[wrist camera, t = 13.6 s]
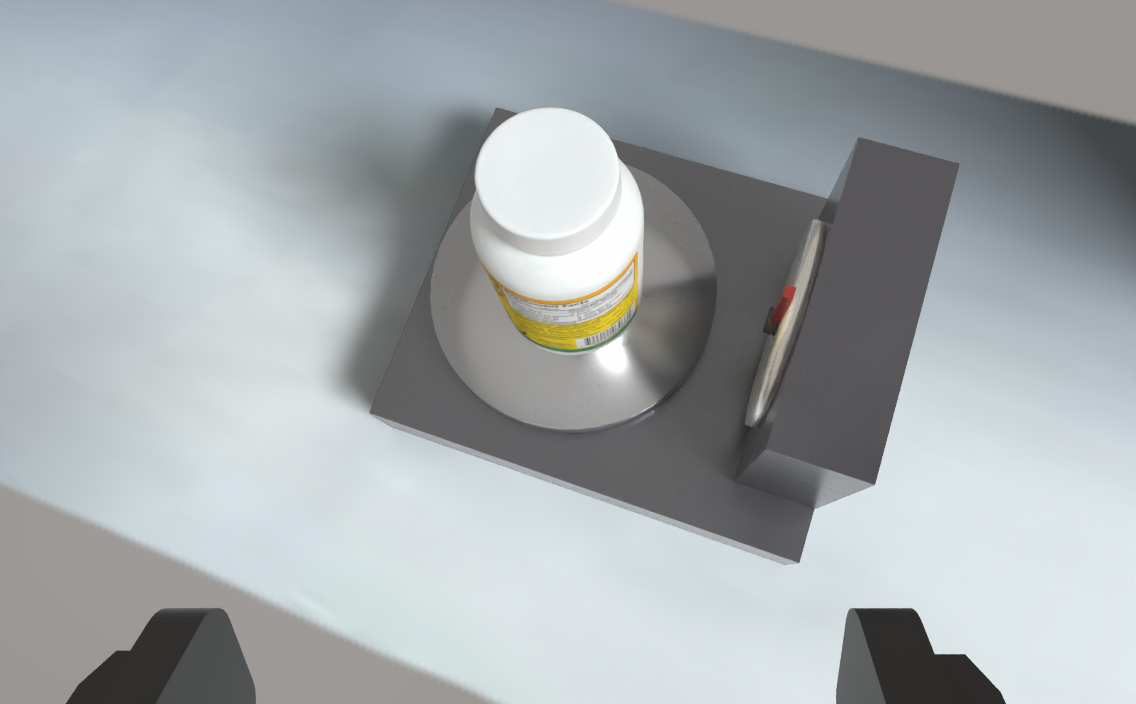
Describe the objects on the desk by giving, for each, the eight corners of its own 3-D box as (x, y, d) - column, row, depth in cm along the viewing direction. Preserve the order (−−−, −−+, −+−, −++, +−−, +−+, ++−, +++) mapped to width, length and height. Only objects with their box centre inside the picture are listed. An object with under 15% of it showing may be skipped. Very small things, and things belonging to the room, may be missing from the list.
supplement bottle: (623, 372, 31) (616, 285, 22) (486, 339, 32) (422, 241, 22) (657, 241, 32) (665, 104, 23) (525, 211, 33) (480, 68, 24)
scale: (874, 247, 36) (974, 106, 25) (784, 564, 33) (855, 556, 22) (506, 142, 38) (457, -24, 28) (391, 427, 35) (286, 361, 25)
